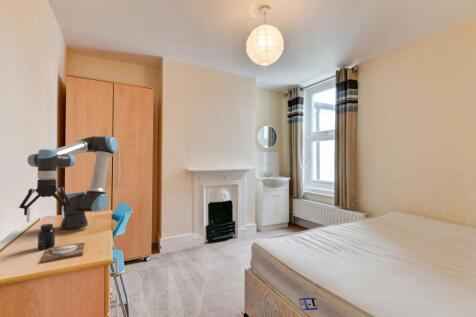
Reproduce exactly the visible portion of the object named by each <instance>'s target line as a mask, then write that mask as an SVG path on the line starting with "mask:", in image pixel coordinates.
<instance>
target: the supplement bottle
mask: <svg viewBox="0 0 476 317" xmlns="http://www.w3.org/2000/svg"><path fill="white" fill-rule="evenodd" d="M53 225H54V224H53V223H44V224H41V225H40V230H39V231H38V233H37V250H39V251H45V250H46V251H47V250H48V248H52V247H56V246H55V245H56V230H55V229H54V226H53Z"/></svg>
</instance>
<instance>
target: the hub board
mask: <svg viewBox="0 0 476 317" xmlns="http://www.w3.org/2000/svg"><path fill="white" fill-rule="evenodd" d="M84 249H85V242H78V243H77V242H76V243H73V244H72V243H71V244H66V245H60V246H54V247H52V248H48V249H47V250H46V251H45V253H44V255H43V257H42V259H41V261H40V262H41V264H44V263H49V262H56V261H62V260H66V259H71V258H76V257H82V256H83V253H84Z"/></svg>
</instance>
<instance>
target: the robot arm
mask: <svg viewBox="0 0 476 317" xmlns="http://www.w3.org/2000/svg"><path fill="white" fill-rule="evenodd" d="M118 151H119V144H118V140H117V139H116V138H115V137H113V136H108V135H105V136H96V135H95V136H94V135H93V136H88V137H85V138H81V139H78V140H76V141H75V142H74V143H70V144H67V145H65V146H61V147H58V148H54V149H49V148H48V149H47V148H45V149H39V150H38V153H31V154H29V155H28V157H27V163H28V165H29V166H30V167H34V168H37V181H36V182H37V183H36V185H37V186H36V189H35V188H29V189H28V192H27V195H26V196H25V197H24V199H23V200H22V202H21V204H20V205H19V206H18V208H19V209H23V210H24V211H23V215H24V216H26V223H29V222H31V206H32V205H33V204H34V203H35V202H36V201H37V200H38V199H40V198H41V197H42V198H49V197H53V198H54V199H56V200H57V201H58V203H60V204H62V206H61V223H60V228H59V229H60V230H66V231H69V230H77V229H81V228H84V227H87V226H89V220H88V219H87V216H86V212H90V213H91V212H93V213H95V212H103V211H104V210H105V209H106V208H107V206H108V204H109V200H110V199H109V196H108V195H107V192H106V190H105V186H106V181H107V176H108V170H109V165H110V160H111V158H113V156H114V153H117V152H118ZM85 153H94V155H96V157H95V161H94V167H93V172H92V176H91V179H90V180H91V181H90V186H89V189H88V190H86V191H79V192H71V193H67V194H66V192H65V188H64V187H63V186H62V187H59V188H58V187H57V179H56V178H57V173H58V172H57V171H58V170H57V169H58V168H70V167H73V166H75V164H76V163H77V162H76V161H77V160H76V157H75V156H76V155H79V154H85ZM35 192H36V194H37V195H36V196H35V197H33V199H32V200H30V202H28V201H29V199H30V197H31V196H32V195H33V194H34V193H35ZM56 192H59V193H60V194H61V196H62V197H63V199H62V198H61V197H60V196H59V195H58V194H57V193H56Z"/></svg>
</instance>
